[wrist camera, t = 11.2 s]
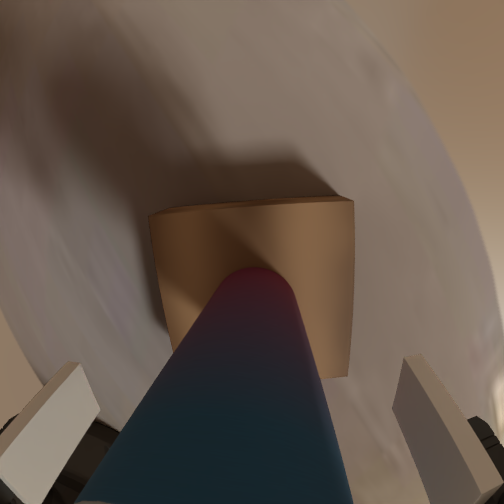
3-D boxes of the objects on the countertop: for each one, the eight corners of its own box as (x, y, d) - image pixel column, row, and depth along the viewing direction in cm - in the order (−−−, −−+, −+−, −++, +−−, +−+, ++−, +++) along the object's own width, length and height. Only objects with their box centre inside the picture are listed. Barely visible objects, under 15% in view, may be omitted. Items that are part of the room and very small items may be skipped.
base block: (193, 352, 24) (180, 380, 20) (169, 207, 21) (148, 215, 17) (338, 346, 23) (347, 376, 19) (339, 195, 20) (353, 200, 16)
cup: (278, 366, 19) (272, 588, 5) (185, 325, 19) (74, 533, 5) (331, 282, 18) (429, 529, 3) (226, 232, 17) (66, 453, 3)
